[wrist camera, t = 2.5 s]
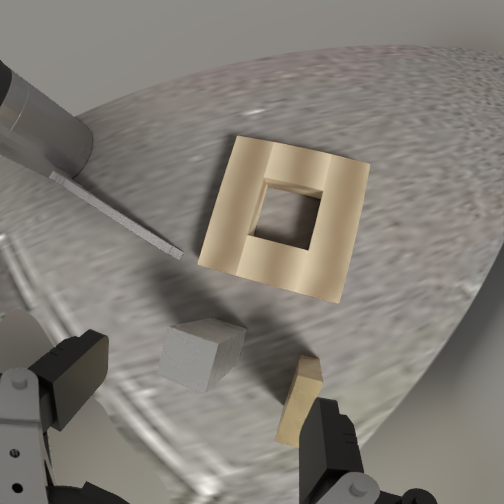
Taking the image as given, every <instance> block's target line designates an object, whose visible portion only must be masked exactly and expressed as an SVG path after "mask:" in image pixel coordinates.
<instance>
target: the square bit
mask: <svg viewBox="0 0 504 504" xmlns="http://www.w3.org/2000/svg"><path fill="white" fill-rule="evenodd" d="M246 332H247V329H246V328H243V327H240V326H237V325H233V324H230V323H227V322H224V321H221V320H218V319H215V318H207V319H202V320H197V321H193V322H188V323H183V324H178V325H173V326H169V327H168V331H167V335H166V339H165V343H164V347H163V351H162V355H161V359H160V363H159V368H158V372H157V375H159V376H161V377H164V378H166V379H169V380H171V381H174V382H176V383H178V384H181V385H183V386H186V387H189V388H191V389H194V390H196V391H199V392H202V393H204V394H205V393H206V392H207V391H208V390H209V389H211V388H212V387H213V386H214V385H215V384H216V383H217V382H218V381H220V380H221V379H222V378H223V377H224V376H225V375H226V374H227V373H228V372H229V371H230V370H232V369H233V368H234V367H235V366H236V365H237V363H238V360H239V356H240V353H241V349H242V346H243V342H244V339H245V335H246Z"/></svg>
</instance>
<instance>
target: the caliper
mask: <svg viewBox="0 0 504 504" xmlns="http://www.w3.org/2000/svg"><path fill="white" fill-rule="evenodd" d="M49 178H51V179H52V180H54V181H55V182H57V183H59V184H61V185H62V186H64V187H65V188H67V189H68V190H69V191H71V192H72V193H74V194H75V195H77V196H78V197H80V198H81V199H83V200H84V201H86V202H88V203H89V204H91V205H92V206H94V207H95V208H97V209H99V210H100V211H102V212H103V213H105V214H106V215H108V216H109V217H111V218H112V219H114V220H115V221H117V222H118V223H120V224H121V225H123V226H124V227H126V228H128V229H129V230H131V231H132V232H134V233H135V234H137V235H138V236H140V237H142V238H143V239H145V240H146V241H148V242H149V243H151V244H153V245H154V246H156V247H157V248H159V249H161V250H162V251H164V252H165V253H167V254H170V255H171V256H173V257H174V258H176V259H178V260H180V259H181V257H182V255H183V254H184V252H182V251H181V250H179V249H177V248H176V247H174V246H173V245H171V244H170V243H168V242H167V241H165V240H163V239H162V238H160V237H159V236H157V235H155V234H154V233H152V232H151V231H149V230H147V229H146V228H144V227H143V226H141V225H139V224H138V223H136V222H135V221H133V220H131V219H130V218H128V217H127V216H125V215H124V214H122V213H120V212H119V211H117V210H116V209H114V208H113V207H111V206H109V205H108V204H106V203H105V202H103V201H102V200H100V199H99V198H98V197H97V196H95V195H93V194H92V193H90V192H89V191H87V190H85V189H84V187H83V186H82V185H80V184H77V182H76V181H74V180H72V179H70V178H68V177H66V176H64V175H62V174H60V173H58V172H56V171H52V173H51V175H50V177H49Z"/></svg>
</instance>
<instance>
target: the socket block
mask: <svg viewBox="0 0 504 504" xmlns="http://www.w3.org/2000/svg"><path fill="white" fill-rule="evenodd" d="M369 168H370V164H368V163H364V162H361V161H357V160H353V159H349V158H345V157H341V156H337V155H332V154H328V153H324V152H320V151H315V150H311V149H306V148H301V147H296V146H292V145H287V144H281V143H276V142H271V141H266V140H260V139H254V138H248V137H242V136H237V138H236V141H235V144H234V147H233V150H232V153H231V156H230V159H229V162H228V165H227V169H226V172H225V175H224V178H223V181H222V184H221V187H220V191H219V194H218V197H217V200H216V203H215V207H214V210H213V213H212V217H211V220H210V223H209V227H208V230H207V233H206V237H205V240H204V243H203V247H202V250H201V254H200V257H199V261H198V265H201V266H205V267H208V268H211V269H215V270H218V271H222V272H225V273H229V274H232V275H236V276H239V277H243V278H246V279H250V280H254V281H257V282H261V283H264V284H268V285H272V286H275V287H279V288H282V289H286V290H290V291H293V292H297V293H301V294H304V295H308V296H312V297H316V298H319V299H323V300H327V301H331V302H335V303H338V304H339V301H340V298H341V294H342V290H343V287H344V283H345V279H346V275H347V271H348V267H349V263H350V259H351V255H352V251H353V246H354V242H355V238H356V233H357V229H358V224H359V219H360V215H361V210H362V205H363V200H364V195H365V190H366V185H367V179H368V174H369ZM267 187H271V188H276V189H280V190H284V191H289V192H293V193H297V194H302V195H306V196H310V197H314V198H318V199H321V203H320V207H319V211H318V215H317V219H316V223H315V227H314V231H313V235H312V239H311V243H310V247H309V251H308V250H304V249H300V248H296V247H292V246H289V245H285V244H281V243H277V242H273V241H269V240H265V239H261V238H257V237H254V233H255V230H256V226H257V223H258V219H259V216H260V212H261V209H262V205H263V201H264V198H265V194H266V191H267Z"/></svg>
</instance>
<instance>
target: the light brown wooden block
mask: <svg viewBox="0 0 504 504" xmlns="http://www.w3.org/2000/svg"><path fill="white" fill-rule="evenodd" d="M322 383H323V379H322V372H321V366H320V360H319V359H317V358H313V357H309V356H306V355H302V354H301V355H300V358H299V361H298V364H297V368H296V371H295V374H294V377H293V380H292V383H291V386H290V389H289V392H288V395H287V398H286V401H285V404H284V407H283V411H282V415H281V419H280V423H279V427H278V430H277V434H276V438H275V442H279V443H283V444H286V445H290V446H294V447H298V448H299V435H300V431H301V428H302V425H303V423H304V421H305V419H306V417H307V415H308V413H309V411H310V409H311V406H312V404H313V402H314V400H315V399H316V398H317V397H318V395H319V392H320V389H321V386H322Z"/></svg>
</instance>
